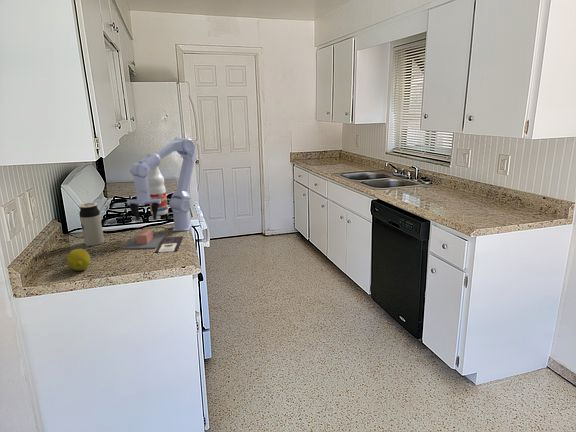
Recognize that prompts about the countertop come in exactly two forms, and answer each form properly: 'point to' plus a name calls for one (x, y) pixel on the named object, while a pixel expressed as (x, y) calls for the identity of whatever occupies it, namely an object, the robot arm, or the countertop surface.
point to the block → (144, 236)
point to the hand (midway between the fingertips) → (146, 219)
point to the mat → (150, 245)
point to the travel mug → (91, 224)
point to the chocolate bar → (169, 244)
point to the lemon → (78, 259)
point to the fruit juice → (157, 190)
